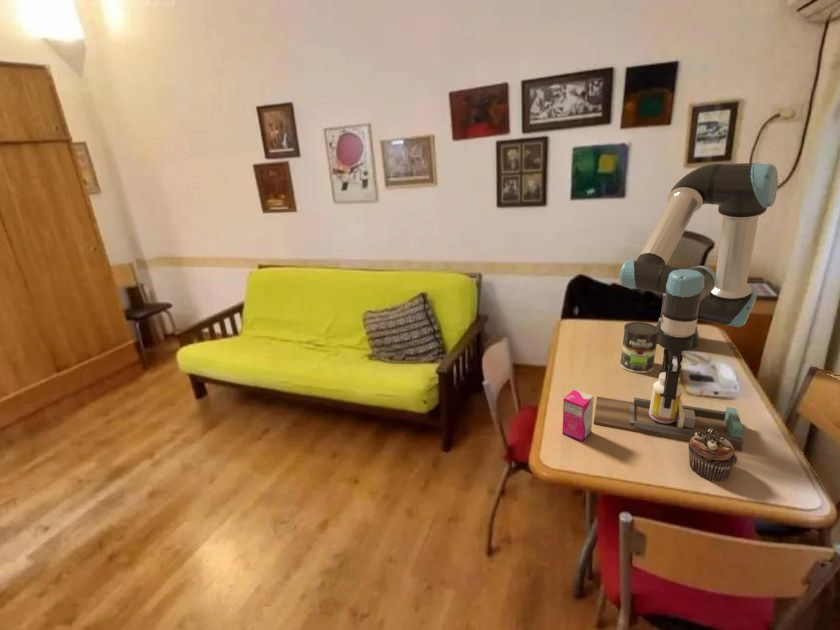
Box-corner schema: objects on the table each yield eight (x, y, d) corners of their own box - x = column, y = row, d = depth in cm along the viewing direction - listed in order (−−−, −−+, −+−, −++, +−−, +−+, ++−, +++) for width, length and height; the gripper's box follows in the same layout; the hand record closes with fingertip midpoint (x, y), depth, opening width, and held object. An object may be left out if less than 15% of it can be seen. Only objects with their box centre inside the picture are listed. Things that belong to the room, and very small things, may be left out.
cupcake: (715, 489, 97) (723, 454, 93) (675, 463, 105) (682, 429, 101) (743, 475, 100) (752, 439, 97) (702, 450, 109) (710, 416, 105)
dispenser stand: (596, 398, 132) (598, 385, 130) (731, 420, 118) (734, 405, 117) (593, 423, 121) (595, 409, 119) (741, 450, 108) (745, 434, 106)
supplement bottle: (679, 425, 116) (688, 384, 111) (652, 424, 117) (659, 382, 112) (671, 410, 122) (678, 370, 117) (645, 409, 123) (652, 369, 118)
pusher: (674, 411, 122) (677, 397, 120) (691, 414, 120) (693, 399, 118) (677, 431, 114) (680, 416, 112) (695, 434, 113) (698, 419, 111)
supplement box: (571, 423, 122) (573, 388, 118) (591, 432, 118) (595, 396, 114) (560, 433, 118) (563, 397, 114) (581, 442, 114) (584, 406, 110)
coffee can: (654, 375, 142) (660, 336, 136) (620, 371, 146) (624, 332, 140) (652, 360, 150) (657, 323, 145) (619, 357, 154) (623, 320, 149)
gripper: (658, 315, 119) (647, 387, 128) (662, 346, 103) (649, 427, 111) (689, 318, 116) (676, 392, 125) (699, 350, 100) (683, 433, 108)
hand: (663, 408), depth 118 cm, fingers closed on supplement bottle, 7 cm apart
